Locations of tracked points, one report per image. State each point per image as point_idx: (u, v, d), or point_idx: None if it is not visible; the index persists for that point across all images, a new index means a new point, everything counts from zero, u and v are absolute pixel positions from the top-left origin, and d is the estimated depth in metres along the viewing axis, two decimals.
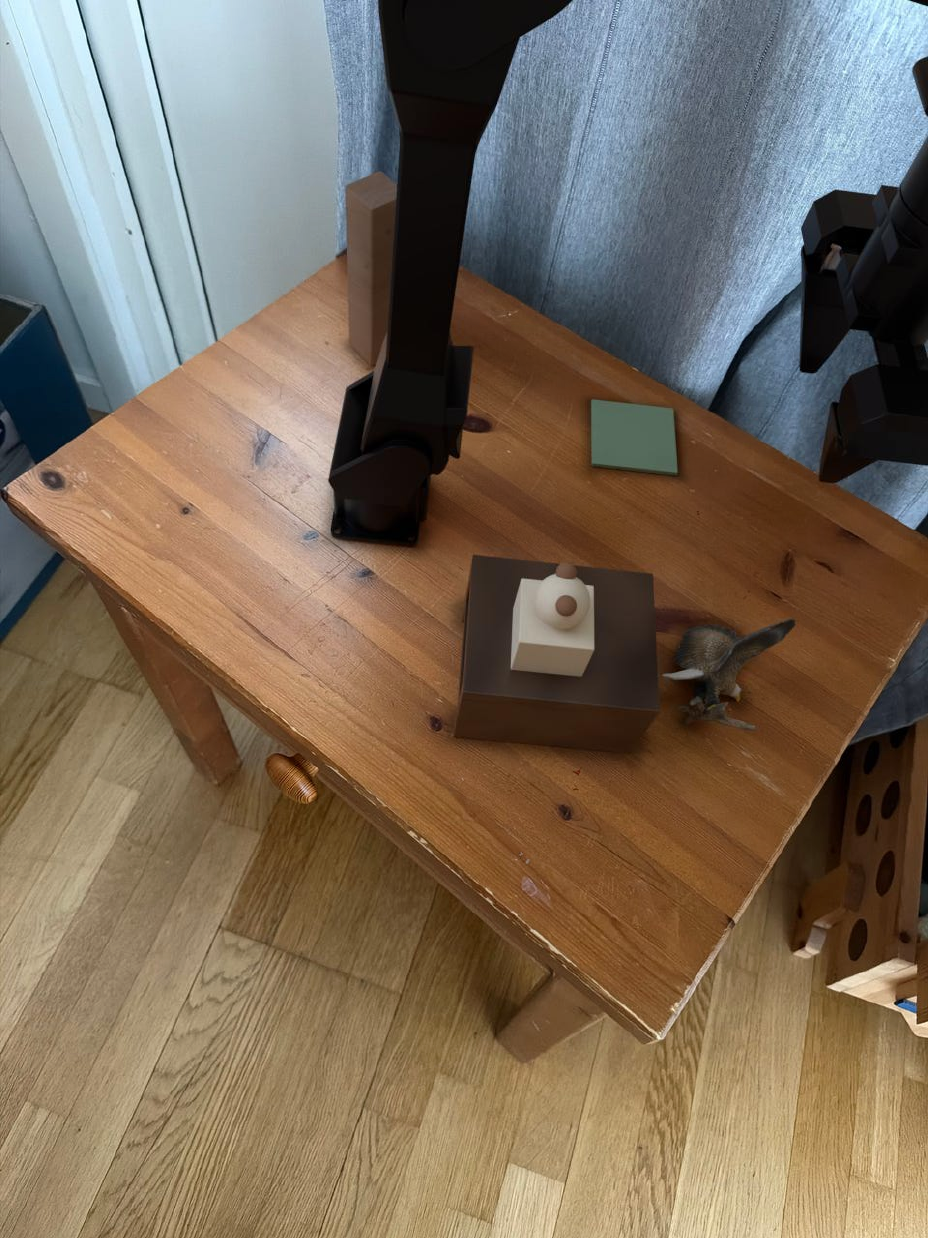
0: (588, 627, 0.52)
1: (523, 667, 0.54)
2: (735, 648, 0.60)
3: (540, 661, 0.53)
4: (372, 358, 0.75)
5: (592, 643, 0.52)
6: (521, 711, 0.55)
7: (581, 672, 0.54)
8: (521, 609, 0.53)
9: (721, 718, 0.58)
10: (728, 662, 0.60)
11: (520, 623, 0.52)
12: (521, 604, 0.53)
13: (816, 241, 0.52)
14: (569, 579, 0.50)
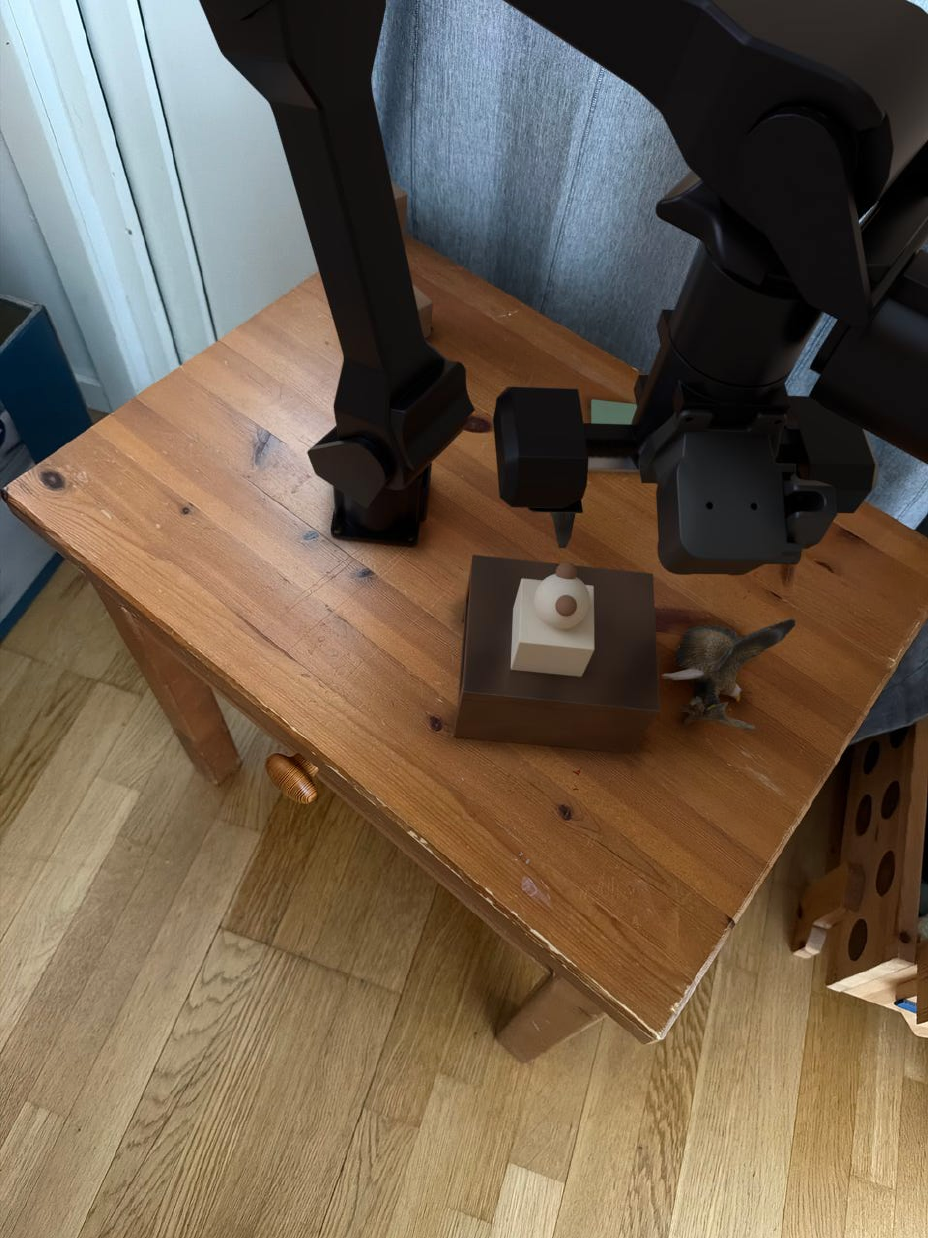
0: (588, 627, 0.52)
1: (523, 667, 0.54)
2: (735, 648, 0.60)
3: (540, 661, 0.53)
4: None
5: (592, 643, 0.52)
6: (521, 711, 0.55)
7: (581, 672, 0.54)
8: (521, 609, 0.53)
9: (721, 718, 0.58)
10: (728, 662, 0.60)
11: (520, 623, 0.52)
12: (521, 604, 0.53)
13: None
14: (569, 579, 0.50)
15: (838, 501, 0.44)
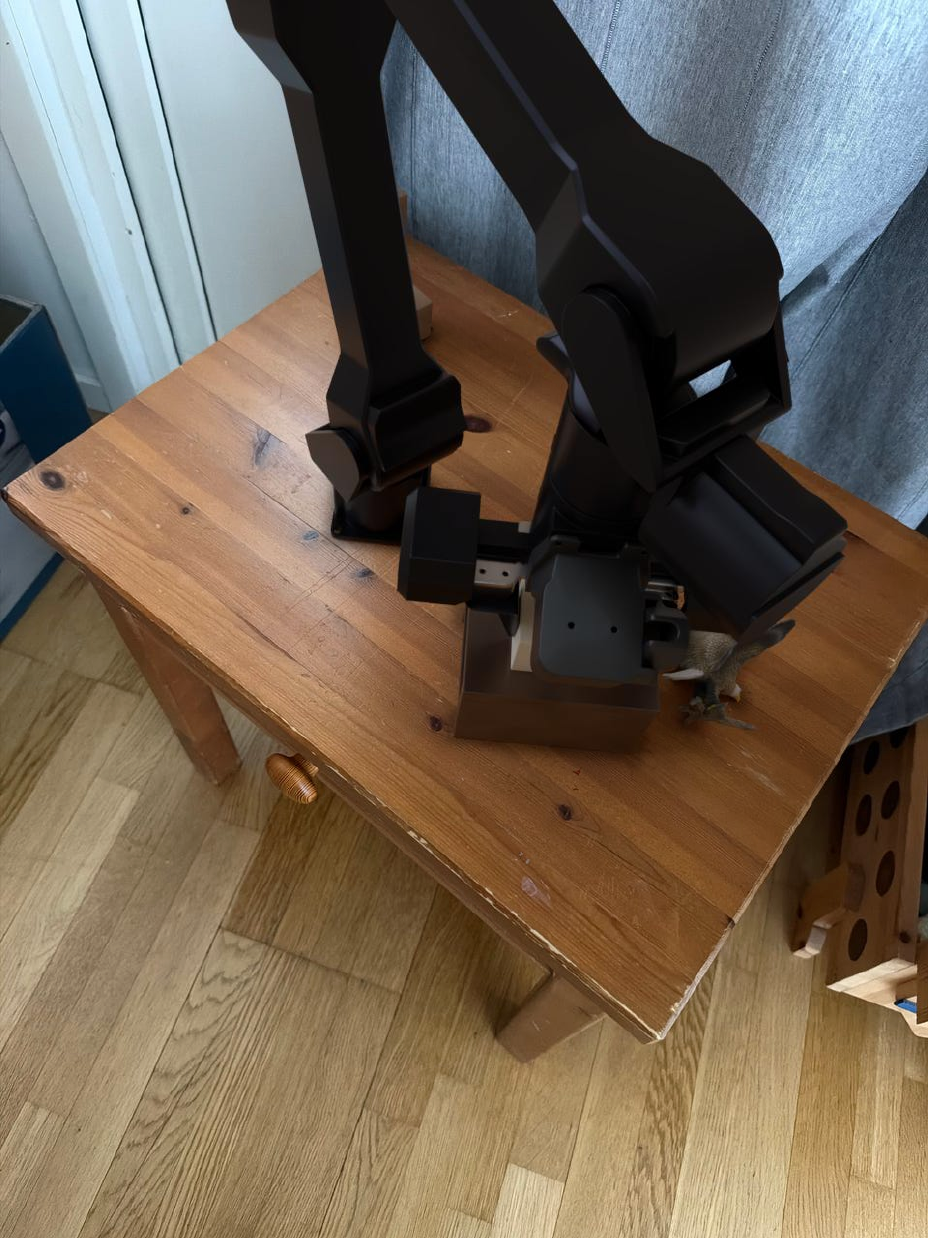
0: None
1: (523, 667, 0.54)
2: (735, 648, 0.60)
3: None
4: None
5: None
6: (521, 711, 0.55)
7: None
8: (521, 609, 0.53)
9: (721, 718, 0.58)
10: (728, 662, 0.60)
11: (520, 623, 0.52)
12: (521, 604, 0.53)
13: None
14: None
15: (719, 623, 0.47)
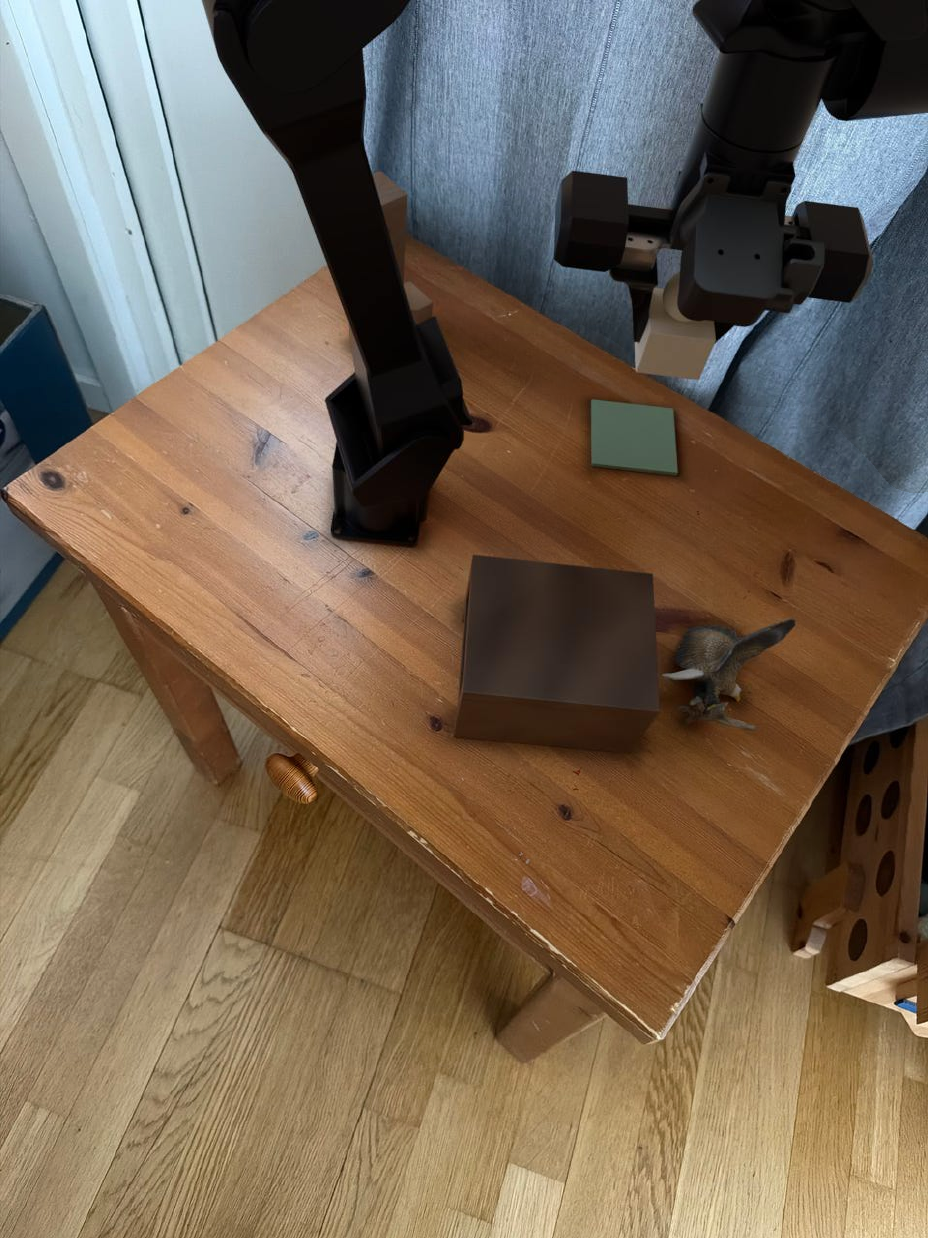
0: (709, 324, 0.59)
1: (648, 368, 0.61)
2: (735, 648, 0.60)
3: (664, 359, 0.60)
4: None
5: (713, 335, 0.59)
6: (521, 711, 0.55)
7: (699, 373, 0.61)
8: None
9: (721, 718, 0.58)
10: (728, 662, 0.60)
11: (649, 319, 0.59)
12: None
13: None
14: None
15: (836, 287, 0.53)
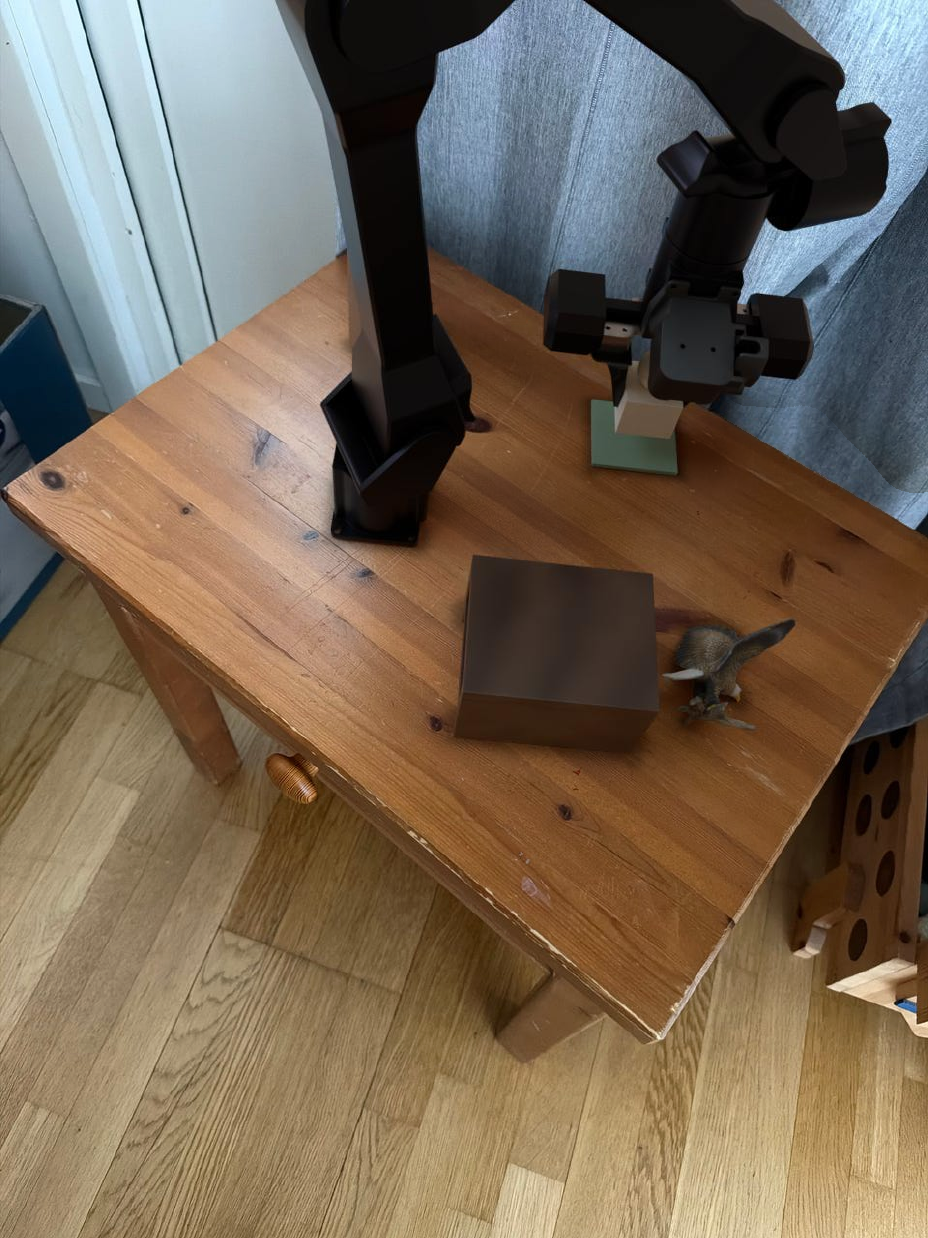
0: None
1: (625, 429, 0.70)
2: (735, 648, 0.60)
3: (639, 422, 0.69)
4: None
5: (681, 403, 0.68)
6: (521, 711, 0.55)
7: (670, 434, 0.70)
8: (626, 379, 0.69)
9: (721, 718, 0.58)
10: (728, 662, 0.60)
11: (626, 389, 0.68)
12: None
13: None
14: None
15: (783, 367, 0.63)
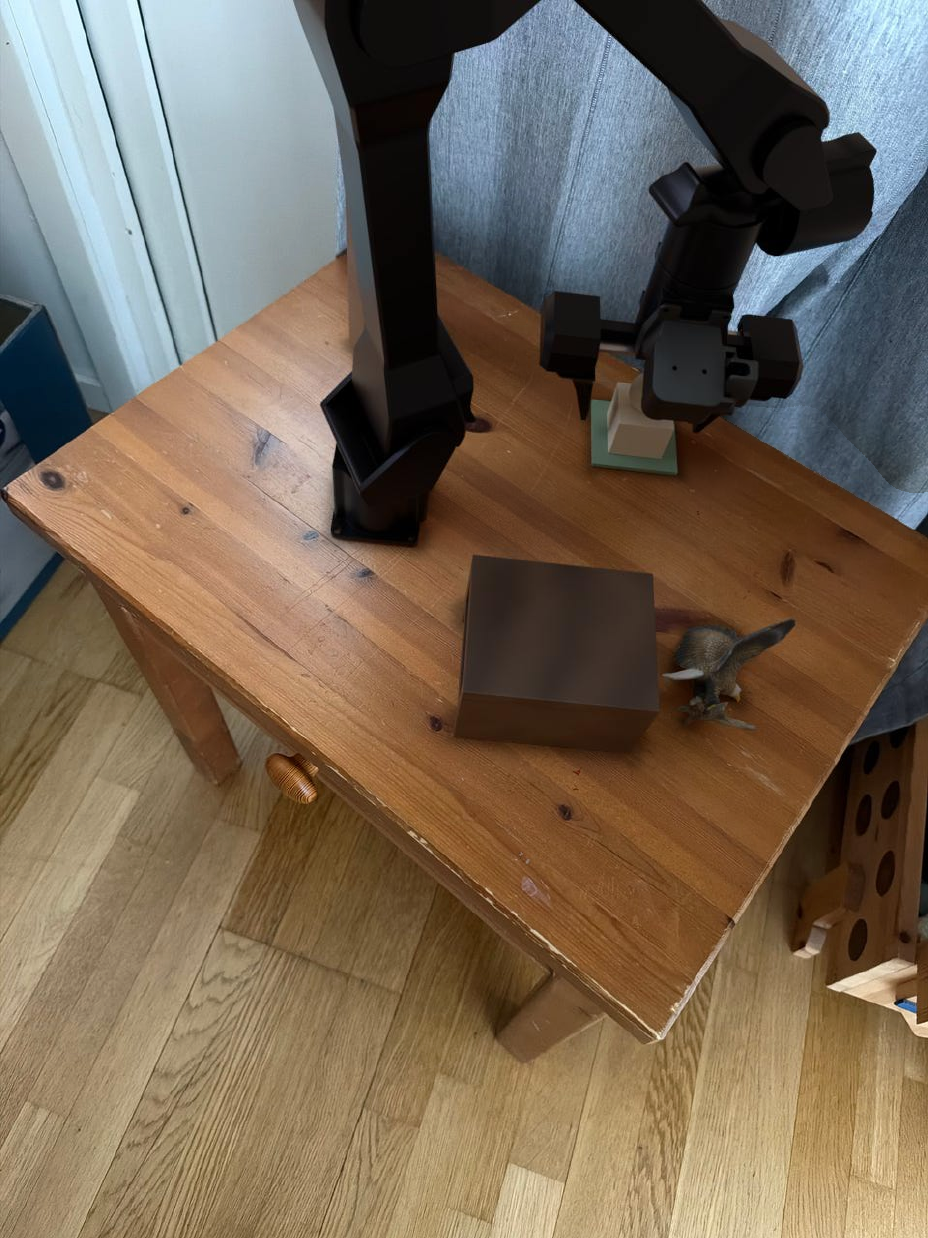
0: None
1: (618, 450, 0.72)
2: (735, 648, 0.60)
3: (632, 443, 0.71)
4: None
5: (672, 425, 0.70)
6: (521, 711, 0.55)
7: (661, 454, 0.72)
8: (618, 402, 0.71)
9: (721, 718, 0.58)
10: (728, 662, 0.60)
11: (618, 411, 0.70)
12: (618, 398, 0.71)
13: None
14: None
15: (773, 387, 0.64)
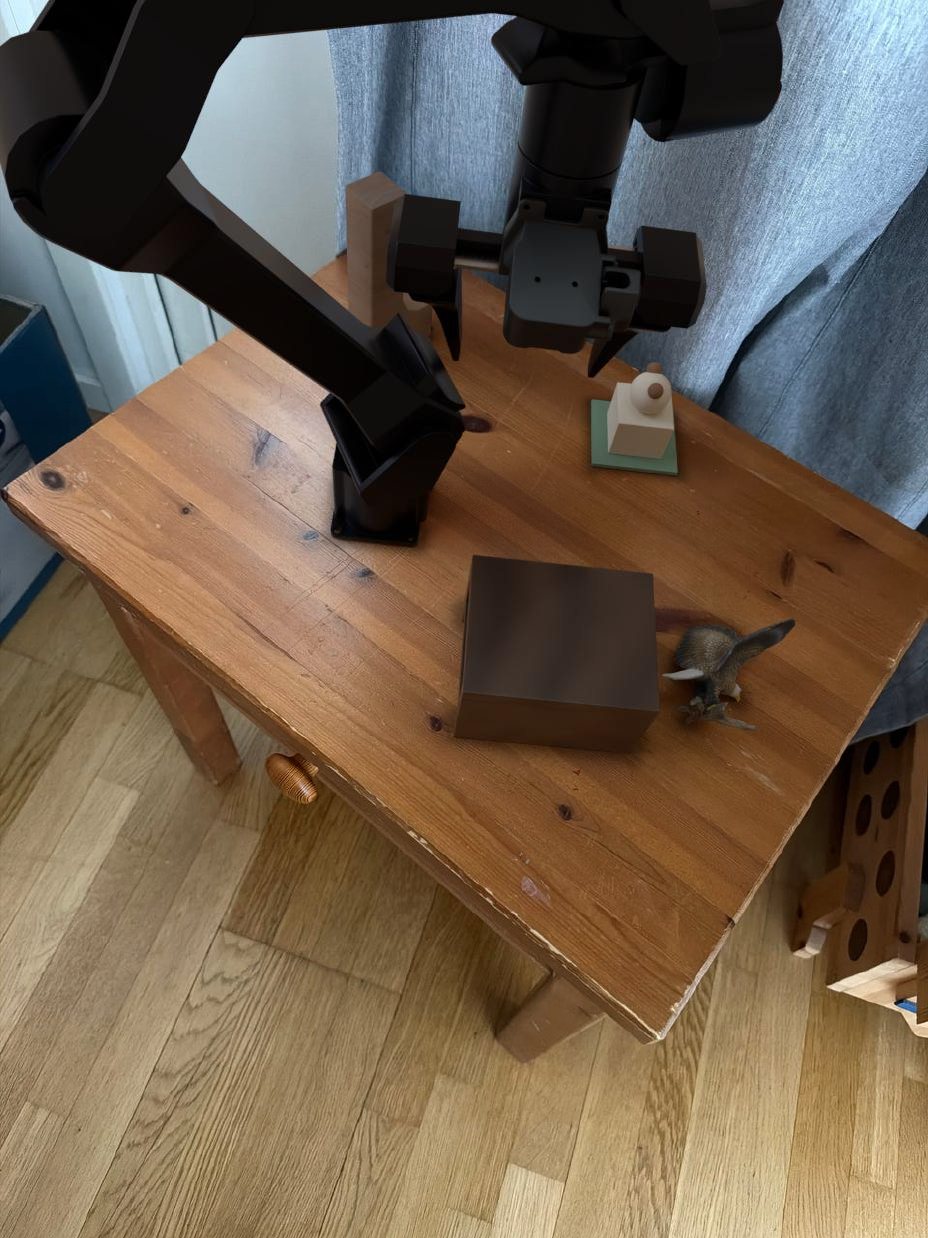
0: (668, 414, 0.70)
1: (618, 450, 0.72)
2: (735, 648, 0.60)
3: (632, 443, 0.71)
4: None
5: (672, 425, 0.70)
6: (521, 711, 0.55)
7: (661, 454, 0.72)
8: (618, 402, 0.71)
9: (721, 718, 0.58)
10: (728, 662, 0.60)
11: (618, 411, 0.70)
12: (618, 398, 0.71)
13: None
14: (657, 373, 0.69)
15: (670, 313, 0.53)
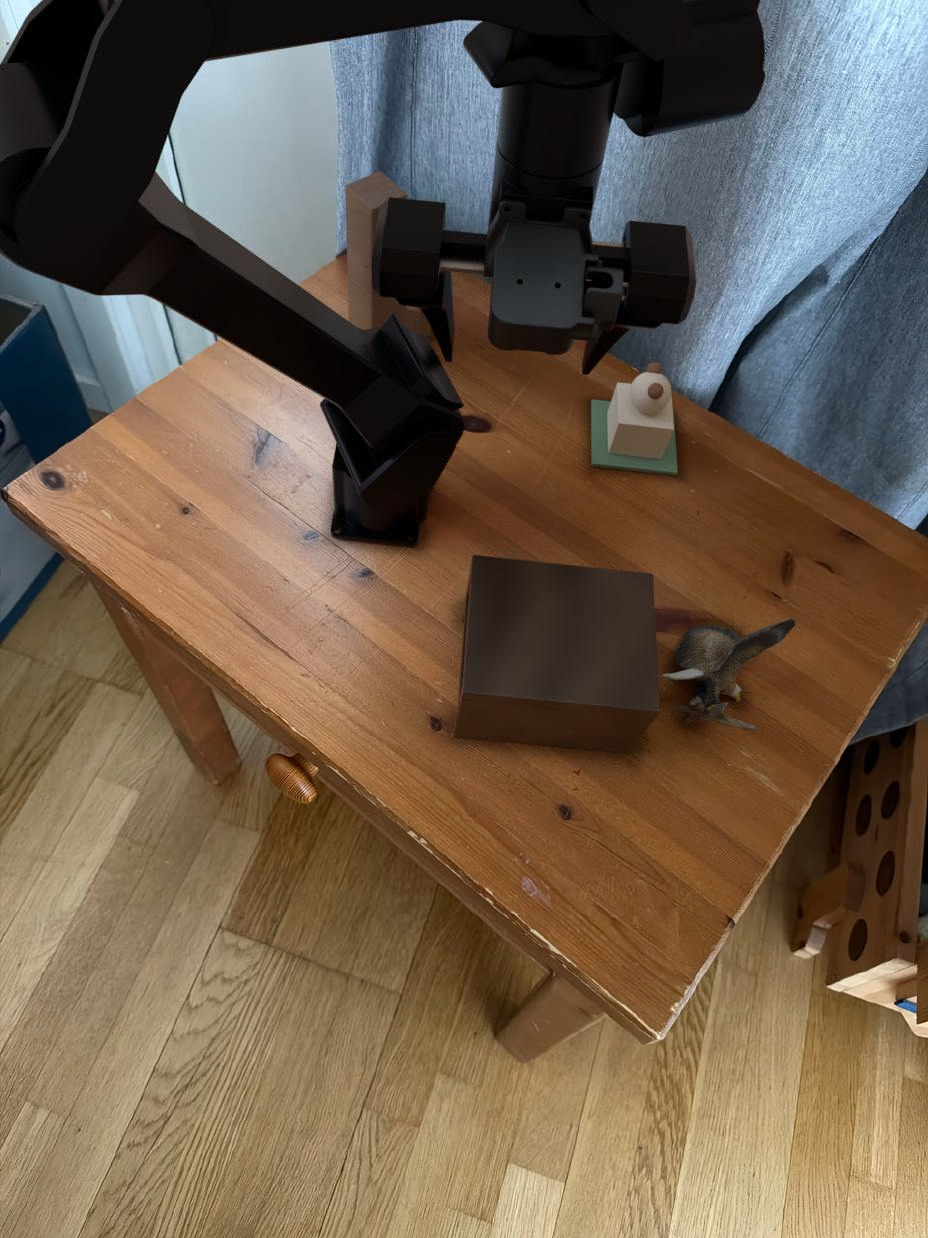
0: (668, 414, 0.70)
1: (618, 450, 0.72)
2: (735, 648, 0.60)
3: (632, 443, 0.71)
4: None
5: (672, 425, 0.70)
6: (521, 711, 0.55)
7: (661, 454, 0.72)
8: (618, 402, 0.71)
9: (721, 718, 0.58)
10: (728, 662, 0.60)
11: (618, 411, 0.70)
12: (618, 398, 0.71)
13: None
14: (657, 373, 0.69)
15: (660, 309, 0.52)
